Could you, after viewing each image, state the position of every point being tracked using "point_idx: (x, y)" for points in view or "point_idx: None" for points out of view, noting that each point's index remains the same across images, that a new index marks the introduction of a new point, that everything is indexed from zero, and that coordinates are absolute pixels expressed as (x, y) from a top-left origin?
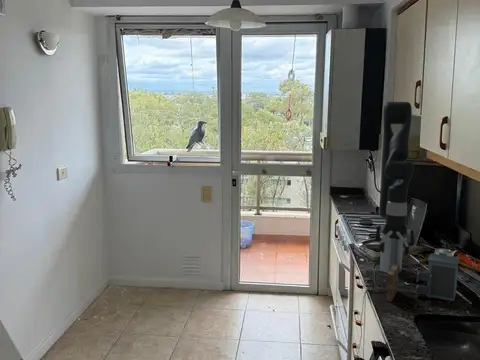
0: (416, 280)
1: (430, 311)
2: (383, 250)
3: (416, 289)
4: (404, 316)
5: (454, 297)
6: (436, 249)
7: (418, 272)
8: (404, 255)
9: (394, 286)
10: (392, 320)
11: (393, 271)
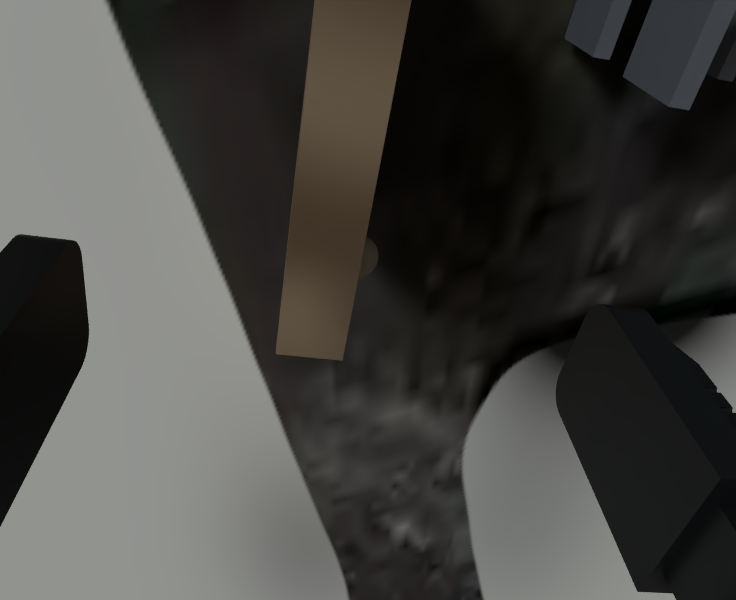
0: (630, 79)
1: (612, 274)
2: (67, 385)
3: (593, 52)
4: (424, 388)
5: None
6: None
7: (724, 5)
8: (558, 397)
9: (359, 277)
10: (353, 448)
11: (342, 260)
